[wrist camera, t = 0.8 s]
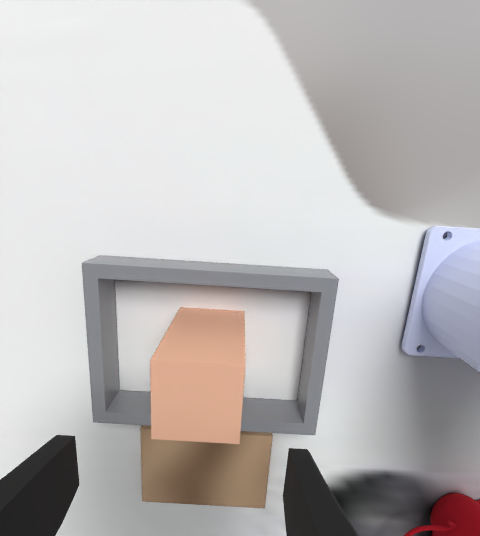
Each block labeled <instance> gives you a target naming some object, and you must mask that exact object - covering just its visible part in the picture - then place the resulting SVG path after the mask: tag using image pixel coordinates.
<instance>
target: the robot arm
mask: <svg viewBox="0 0 480 536" xmlns="http://www.w3.org/2000/svg"><path fill="white" fill-rule="evenodd" d="M445 232H447V237H446V238H445V239H443V234H444V233H445ZM419 345H421V347H420V348H419V349H417V347H418V346H419ZM402 350H403V351H404V352H405V353H406V354H408V355H414V356H430V357H447V358H461V359H462V360H463V361H465V362H466V363H467V364H469V365H470V366H471V367H473V368H474V369H475V370H477V371H478V372H479V373H480V229H479V228H463V227H448V226H433V227H431V228H429V229H428V230H427V233H426V236H425V240H424V245H423V250H422V254H421V259H420V263H419V268H418V272H417V277H416V282H415V286H414V291H413V295H412V300H411V305H410V309H409V314H408V318H407V323H406V327H405V332H404V337H403V341H402ZM78 486H79V475H78V464H77V453H76V442H75V436H65V435H56V436H55V437H54V438H52V439H51V440H50V441H48V442H47V443H46V444H45V445H43V446H42V447H41V448H40V449H38V450H37V451H36V452H35V453H33V454H32V455H31V456H30V457H28V458H27V459H26V460H25V461H24V462H22V463H21V464H20V465H19V466H17V467H16V468H15V469H13V470H12V471H11V472H10V473H8V474H7V475H6V476H5V477H3V478H2V479H1V480H0V536H55V535H56V533H57V531H58V529H59V528H60V526H61V524H62V522H63V520H64V518H65V516H66V513H67V511H68V509H69V507H70V505H71V502H72V500H73V498H74V496H75V493H76V491H77V489H78ZM283 501H284V513H285V523H286V534H287V536H358V534H357V533H356V531H355V530H354V528H353V527H352V525H351V523H350V522H349V520H348V519H347V517H346V515H345V514H344V512H343V510H342V509H341V507H340V506H339V504H338V502H337V501H336V499H335V497H334V496H333V494H332V492H331V491H330V489H329V487H328V485H327V484H326V482H325V480H324V478H323V476H322V475H321V473H320V471H319V469H318V467H317V465H316V463H315V462H314V460H313V458H312V456H311V454H310V452H309V451H308V450H307V449H293V448H289V452H288V460H287V468H286V476H285V484H284V492H283Z"/></svg>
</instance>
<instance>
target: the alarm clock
mask: <svg viewBox="0 0 480 536" xmlns="http://www.w3.org/2000/svg"><path fill="white" fill-rule="evenodd" d="M430 518H431V525H424V526H420V527H416V528H414V529H412V530H410V531H408V532H407V533H406V534H405V535H404V536H412V535H414V534H416V533H419V532H421V531H428V530H432V531H433V533H432V534H431V536H480V500H478V501H475V500H473V499H472V498H470V497H468V496H466V495H463V494H459V493H451V494H448V495H445V496H443V497H441V498H440V499H439V500H438V501H437V502H436V503H435V505H434V506H433V509H432V511H431V517H430Z"/></svg>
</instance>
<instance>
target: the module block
mask: <svg viewBox="0 0 480 536" xmlns="http://www.w3.org/2000/svg"><path fill="white" fill-rule="evenodd" d="M244 377H245V318H244V311H232V310H216V309H200V308H184V307H180V309H179V310H178V312H177V314H176V316H175V318H174V319H173V321H172V323H171V325H170V326H169V328H168V330H167V332H166V333H165V335H164V337H163V339H162V340H161V342H160V344H159V346H158V348H157V349H156V351H155V353H154V355H153V356H152V358H151V360H150V378H151V439H159V440H176V441H193V442H211V443H228V444H240V430H241V417H242V404H243V390H244Z"/></svg>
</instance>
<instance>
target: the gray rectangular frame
mask: <svg viewBox="0 0 480 536" xmlns="http://www.w3.org/2000/svg"><path fill="white" fill-rule="evenodd" d="M82 273H83V287H84V301H85V315H86V329H87V343H88V357H89V371H90V384H91V398H92V412H93V422H97V423H114V424H131V425H148V426H151V392H140V391H123V390H119V368H118V345H117V323H116V300H115V280H131V281H147V282H163V283H180V284H196V285H212V286H228V287H244V288H260V289H276V290H292V291H308V292H311V300H310V307H309V315H308V323H307V331H306V339H305V346H304V354H303V362H302V370H301V377H300V385H299V393H298V401H291V400H274V399H257V398H243V404H242V417H241V430H240V431H250V432H267V433H284V434H301V435H315V433H316V426H317V419H318V413H319V406H320V400H321V393H322V386H323V380H324V373H325V366H326V360H327V353H328V347H329V340H330V333H331V327H332V320H333V313H334V307H335V300H336V294H337V287H338V280H339V279H338V278H337V277H336V276H335V275H333V274H332V273H331V272H330V271H329V270H324V269H308V268H292V267H276V266H261V265H245V264H229V263H213V262H197V261H181V260H165V259H149V258H133V257H117V256H101V255H100V256H97V257H95V258H93V259H90V260H88V261H85V262H83V263H82Z"/></svg>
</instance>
